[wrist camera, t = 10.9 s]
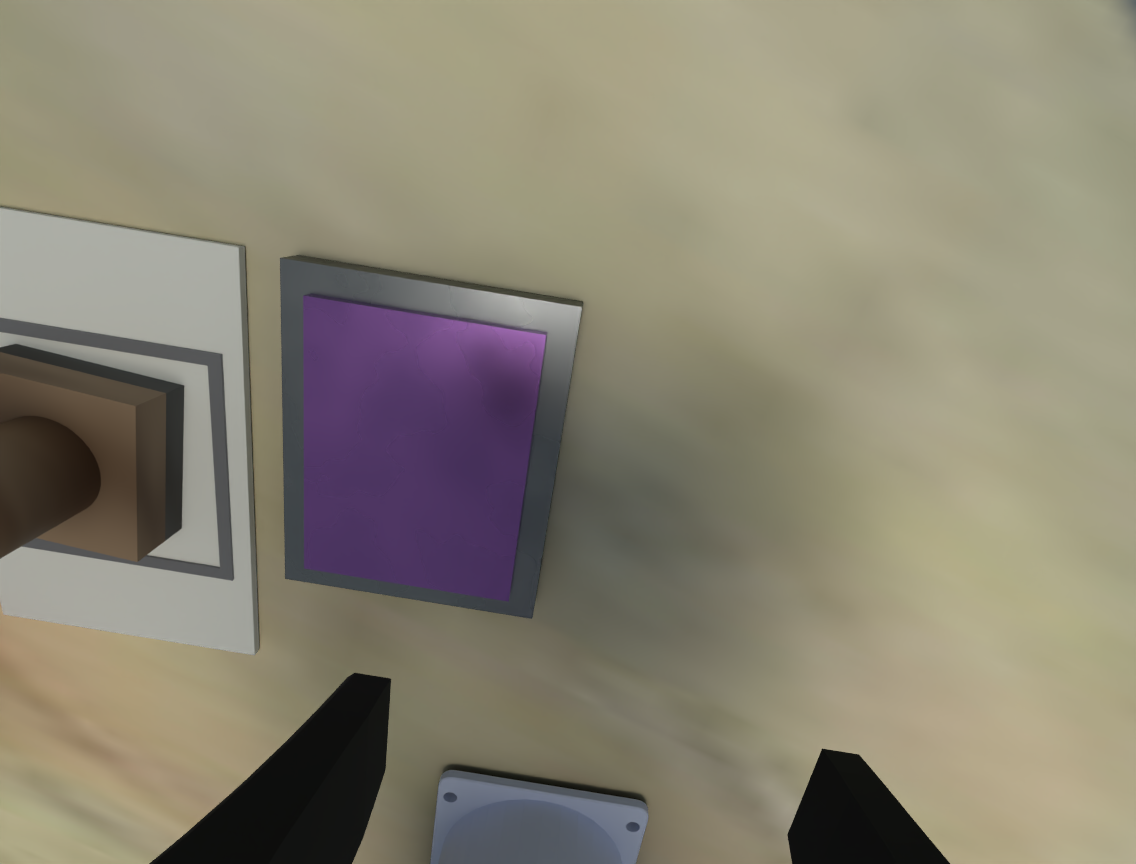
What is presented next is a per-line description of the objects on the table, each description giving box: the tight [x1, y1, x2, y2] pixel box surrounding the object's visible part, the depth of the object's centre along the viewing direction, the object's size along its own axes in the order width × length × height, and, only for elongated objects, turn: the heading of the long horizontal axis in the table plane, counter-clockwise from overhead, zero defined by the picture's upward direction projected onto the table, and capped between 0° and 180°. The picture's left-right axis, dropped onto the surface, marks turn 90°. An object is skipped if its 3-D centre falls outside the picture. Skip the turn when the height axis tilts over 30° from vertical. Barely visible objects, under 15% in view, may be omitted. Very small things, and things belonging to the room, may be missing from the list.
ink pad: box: [280, 255, 583, 619], centre depth 18 cm, size 10×8×1 cm
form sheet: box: [0, 207, 259, 655], centre depth 19 cm, size 14×9×1 cm, turn 171°
